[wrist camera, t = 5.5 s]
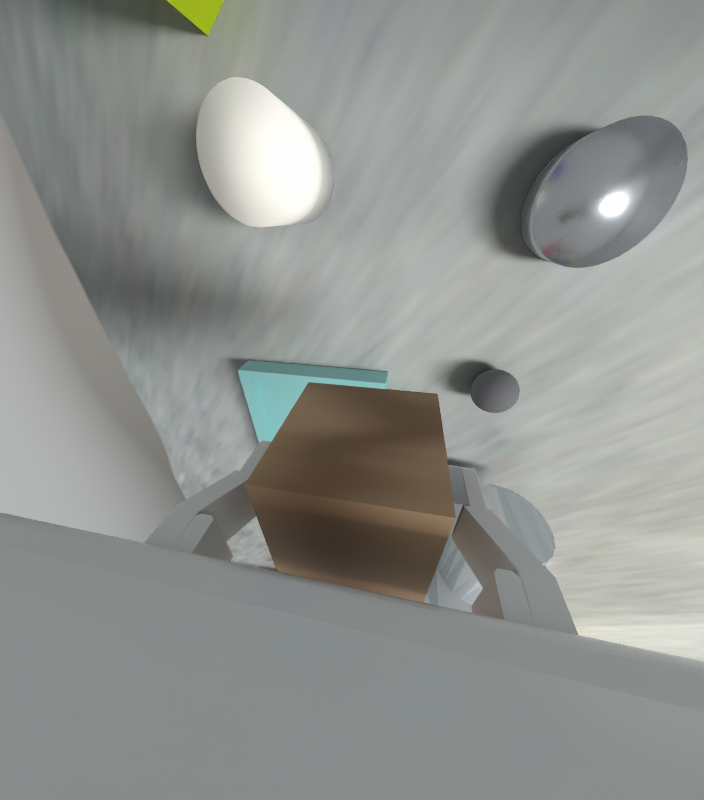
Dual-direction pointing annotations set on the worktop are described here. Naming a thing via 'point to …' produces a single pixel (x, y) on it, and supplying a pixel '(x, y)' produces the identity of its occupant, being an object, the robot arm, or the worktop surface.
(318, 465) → the walnut block
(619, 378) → the worktop surface
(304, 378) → the tray
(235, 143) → the ceramic jar
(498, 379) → the rubber ball
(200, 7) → the puzzle toy
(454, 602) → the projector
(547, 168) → the grey metal dome
